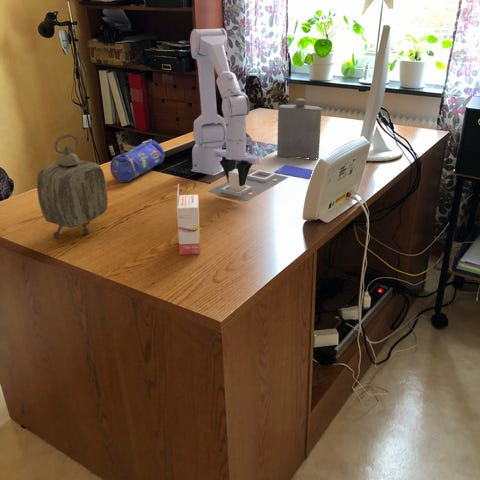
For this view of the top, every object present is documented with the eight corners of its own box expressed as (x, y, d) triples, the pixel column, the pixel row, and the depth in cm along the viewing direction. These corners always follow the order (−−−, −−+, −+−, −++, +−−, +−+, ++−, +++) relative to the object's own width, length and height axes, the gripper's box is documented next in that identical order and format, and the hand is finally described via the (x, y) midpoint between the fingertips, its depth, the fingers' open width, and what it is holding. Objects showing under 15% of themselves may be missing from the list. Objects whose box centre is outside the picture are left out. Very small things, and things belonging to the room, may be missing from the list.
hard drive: (274, 171, 174) (309, 177, 168) (285, 164, 180) (319, 170, 174) (274, 175, 175) (308, 182, 169) (285, 168, 181) (319, 175, 175)
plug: (228, 189, 159) (228, 172, 157) (236, 185, 162) (236, 168, 160) (238, 192, 157) (238, 174, 155) (246, 188, 160) (246, 170, 158)
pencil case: (145, 162, 187) (143, 135, 183) (167, 165, 184) (165, 137, 180) (109, 182, 169) (106, 153, 165) (133, 186, 166) (130, 156, 162)
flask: (320, 155, 192) (323, 98, 183) (317, 160, 187) (320, 102, 178) (279, 152, 196) (280, 96, 187) (275, 156, 191) (276, 99, 182)
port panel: (207, 192, 160) (207, 188, 159) (251, 170, 177) (251, 166, 177) (246, 202, 152) (246, 197, 152) (288, 178, 170) (288, 174, 170)
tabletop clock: (88, 218, 143) (75, 125, 132) (114, 225, 139) (102, 130, 128) (45, 239, 132) (27, 139, 121) (72, 247, 128) (55, 145, 117)
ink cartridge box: (200, 254, 124) (198, 195, 118) (179, 255, 124) (175, 196, 117) (200, 238, 132) (197, 181, 125) (179, 239, 132) (176, 182, 125)
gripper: (207, 138, 153) (208, 183, 159) (249, 145, 146) (249, 192, 152) (221, 132, 158) (222, 176, 164) (263, 139, 151) (262, 185, 157)
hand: (236, 183), depth 159 cm, fingers closed on plug, 3 cm apart
